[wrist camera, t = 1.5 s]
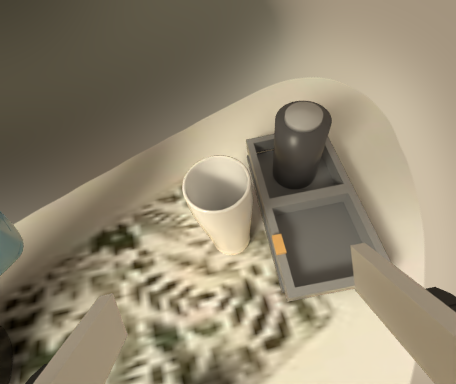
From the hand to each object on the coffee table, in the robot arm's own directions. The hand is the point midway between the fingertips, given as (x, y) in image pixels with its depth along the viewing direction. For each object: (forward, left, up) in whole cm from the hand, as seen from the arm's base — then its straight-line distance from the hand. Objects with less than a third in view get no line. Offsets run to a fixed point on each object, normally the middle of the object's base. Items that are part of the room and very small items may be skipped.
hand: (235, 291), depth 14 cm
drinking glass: (0, +11, -21) cm, 24 cm away
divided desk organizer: (+11, +14, -21) cm, 27 cm away
